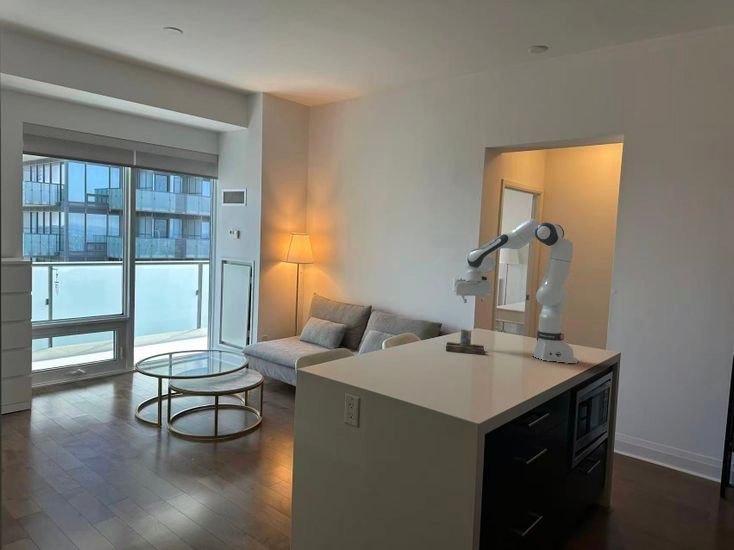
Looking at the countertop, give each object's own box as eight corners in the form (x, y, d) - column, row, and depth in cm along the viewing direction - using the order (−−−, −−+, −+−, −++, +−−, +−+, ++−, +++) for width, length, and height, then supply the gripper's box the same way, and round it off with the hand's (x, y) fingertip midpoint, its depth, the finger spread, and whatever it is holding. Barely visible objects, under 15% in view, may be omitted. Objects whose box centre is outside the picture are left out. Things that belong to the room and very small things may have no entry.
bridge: (483, 350, 294) (483, 345, 293) (483, 354, 284) (484, 349, 283) (446, 347, 297) (446, 341, 297) (445, 351, 287) (446, 345, 287)
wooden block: (470, 348, 291) (471, 329, 290) (470, 349, 289) (471, 330, 288) (459, 347, 292) (461, 329, 291) (459, 348, 290) (461, 329, 289)
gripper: (455, 277, 306) (455, 300, 301) (491, 277, 303) (492, 301, 298) (454, 281, 312) (455, 304, 307) (490, 281, 309) (491, 304, 304)
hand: (473, 302), depth 302 cm, fingers open, 8 cm apart
